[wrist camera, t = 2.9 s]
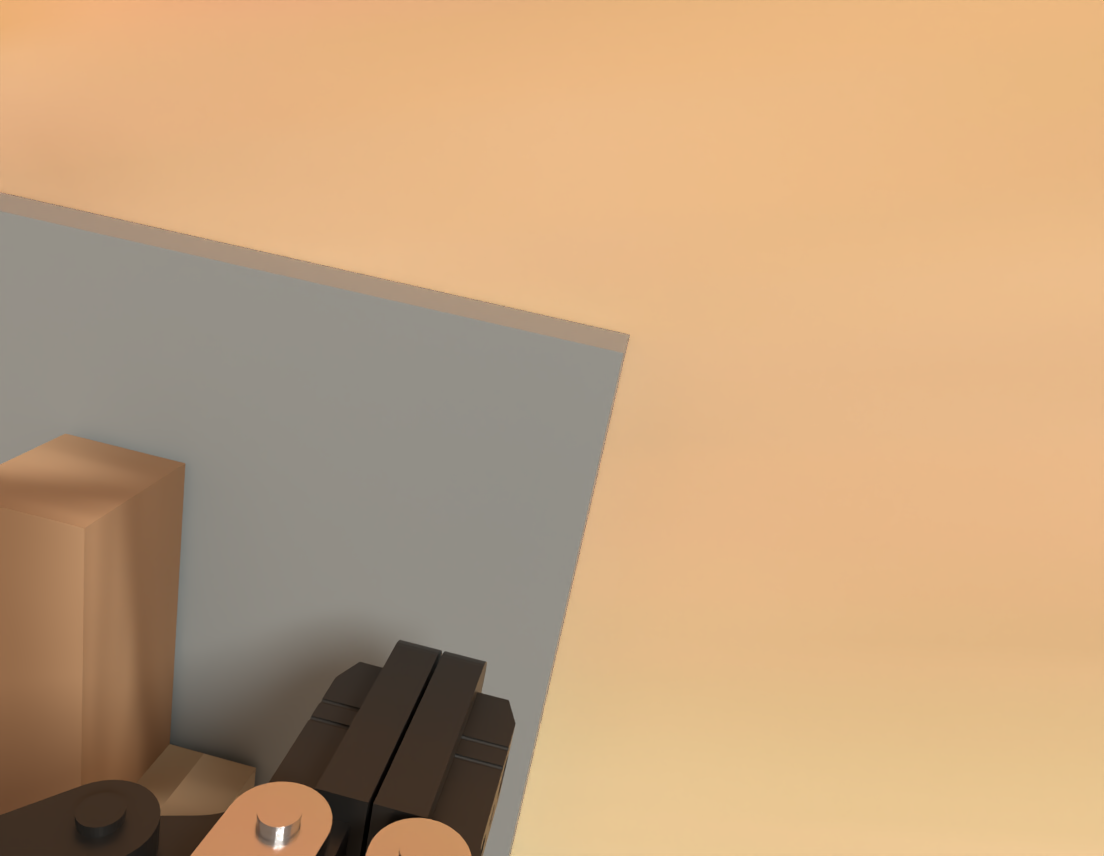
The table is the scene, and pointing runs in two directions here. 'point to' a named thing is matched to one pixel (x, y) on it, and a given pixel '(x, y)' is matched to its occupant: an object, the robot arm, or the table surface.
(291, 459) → the jig deck
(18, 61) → the table surface
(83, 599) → the square frame with handle
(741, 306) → the table surface
